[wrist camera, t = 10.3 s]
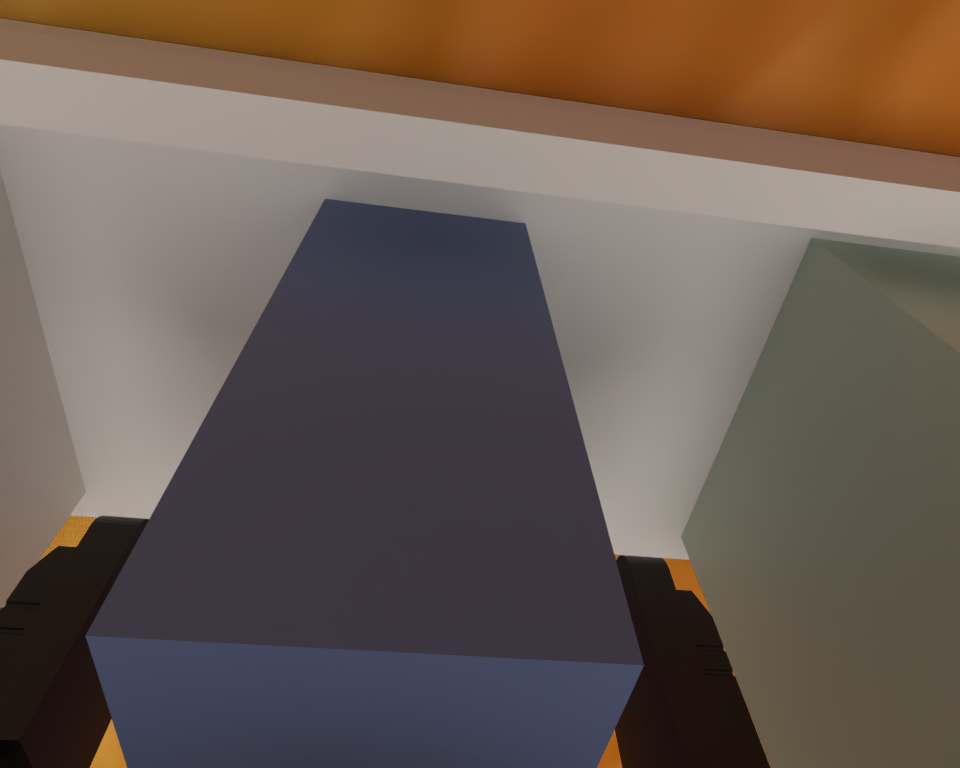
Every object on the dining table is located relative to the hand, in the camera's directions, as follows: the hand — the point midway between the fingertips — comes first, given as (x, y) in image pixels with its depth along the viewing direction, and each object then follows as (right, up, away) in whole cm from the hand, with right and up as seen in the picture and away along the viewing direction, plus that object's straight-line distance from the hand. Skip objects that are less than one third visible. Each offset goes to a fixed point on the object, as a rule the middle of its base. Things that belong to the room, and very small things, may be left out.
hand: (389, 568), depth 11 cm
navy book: (0, +3, +6) cm, 7 cm away
